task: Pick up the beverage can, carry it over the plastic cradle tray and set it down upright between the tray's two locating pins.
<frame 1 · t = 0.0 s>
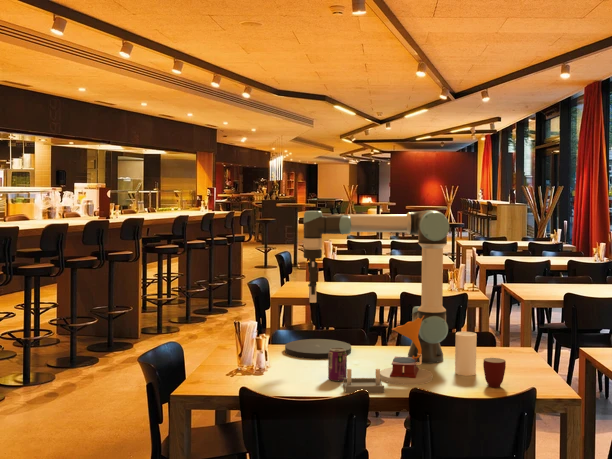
hand: (312, 299, 315), 28 cm above the table, fingers open, 13 cm apart
disc: (318, 352, 346), on the table
mug: (492, 386, 288), on the table
cradle tray: (363, 388, 283), on the table
gramophone: (405, 378, 299), on the table
beverage can: (337, 380, 296), on the table
white cylinder: (465, 373, 307), on the table
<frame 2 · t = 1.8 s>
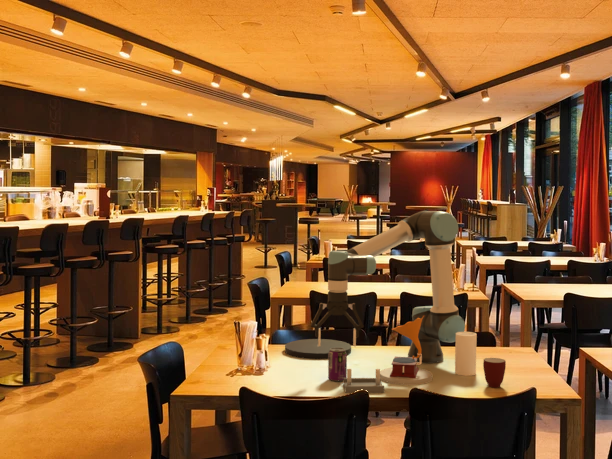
hand: (336, 345, 295), 13 cm above the table, fingers open, 13 cm apart
nothing on the table moved.
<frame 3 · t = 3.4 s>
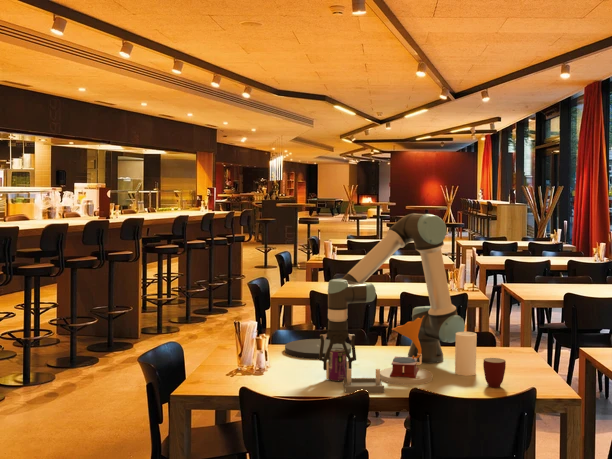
hand: (337, 378, 296), 1 cm above the table, fingers closed on beverage can, 7 cm apart
beverage can: (337, 380, 296), on the table, touching gripper
everything else where it was.
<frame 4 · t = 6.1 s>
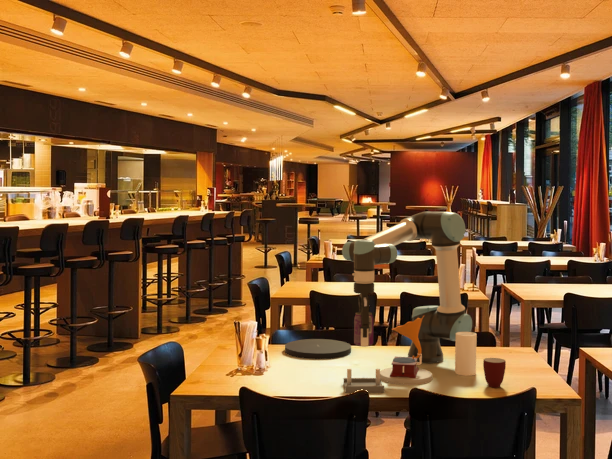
hand: (363, 343, 282), 17 cm above the table, fingers closed on beverage can, 7 cm apart
beverage can: (363, 345, 283), point 16 cm above the table, touching gripper
everything else where it was.
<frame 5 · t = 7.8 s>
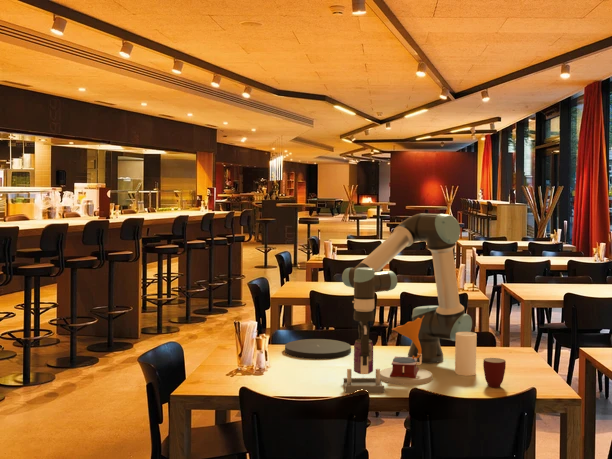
hand: (363, 371, 283), 7 cm above the table, fingers closed on beverage can, 7 cm apart
beverage can: (363, 373, 283), point 6 cm above the table, touching gripper
everything else where it was.
when the fingers open (4 cm above the table, at t = 8.8 s): beverage can drops 2 cm, resting on cradle tray.
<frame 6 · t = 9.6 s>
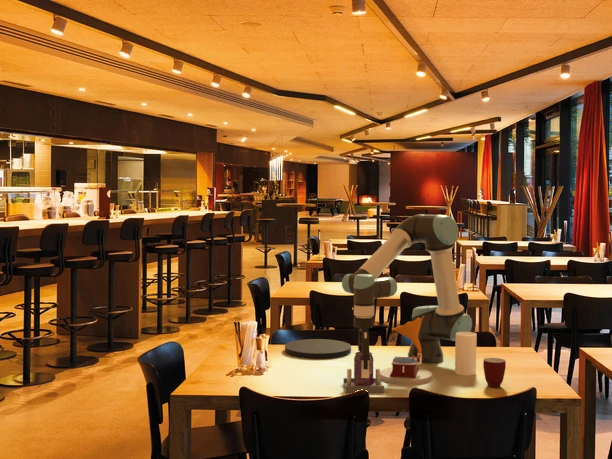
hand: (363, 373, 283), 6 cm above the table, fingers open, 13 cm apart
beverage can: (363, 385, 283), point 1 cm above the table, touching cradle tray
everything else where it was.
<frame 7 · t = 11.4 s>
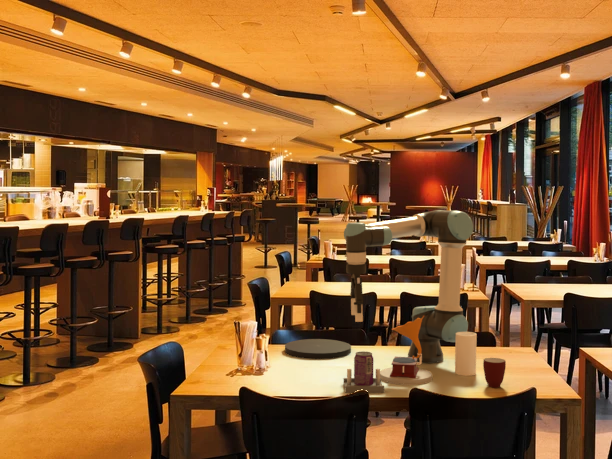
hand: (356, 318, 293), 24 cm above the table, fingers open, 13 cm apart
nothing on the table moved.
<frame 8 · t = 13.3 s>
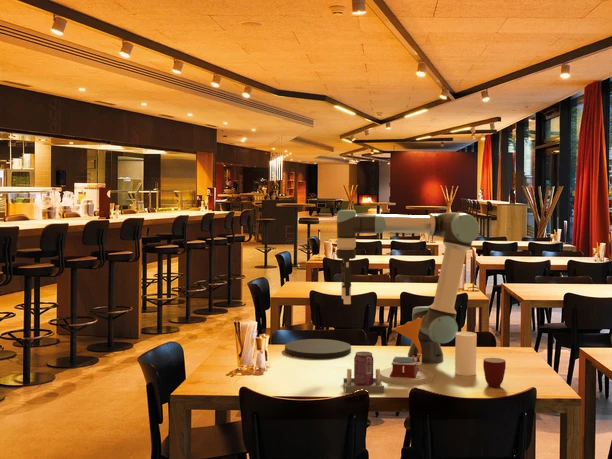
hand: (346, 301, 306), 29 cm above the table, fingers open, 13 cm apart
nothing on the table moved.
at the end: beverage can 0.0 cm off-centre on the cradle tray, point 1.0 cm above the cradle tray's base; beverage can tilted 0°; beverage can touching cradle tray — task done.
